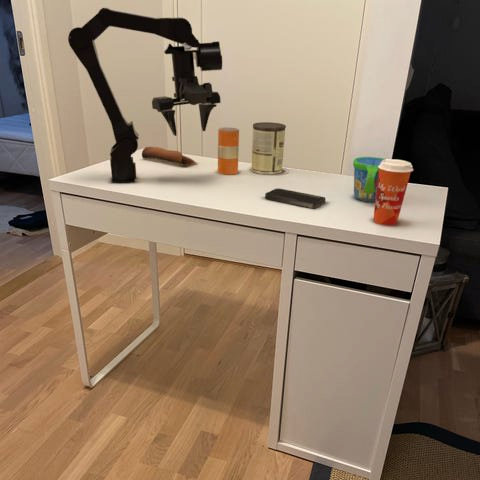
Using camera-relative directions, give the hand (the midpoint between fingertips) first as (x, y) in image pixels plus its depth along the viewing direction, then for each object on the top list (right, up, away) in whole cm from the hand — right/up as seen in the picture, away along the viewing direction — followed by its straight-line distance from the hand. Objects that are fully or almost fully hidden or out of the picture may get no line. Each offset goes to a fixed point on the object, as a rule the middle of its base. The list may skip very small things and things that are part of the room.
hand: (189, 133), depth 139 cm
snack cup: (+50, -20, -5) cm, 54 cm away
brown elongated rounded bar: (-10, 0, +26) cm, 27 cm away
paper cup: (+50, -30, -21) cm, 62 cm away
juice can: (+11, -6, +16) cm, 20 cm away
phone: (+29, -21, -9) cm, 37 cm away
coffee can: (+23, -5, +19) cm, 31 cm away
